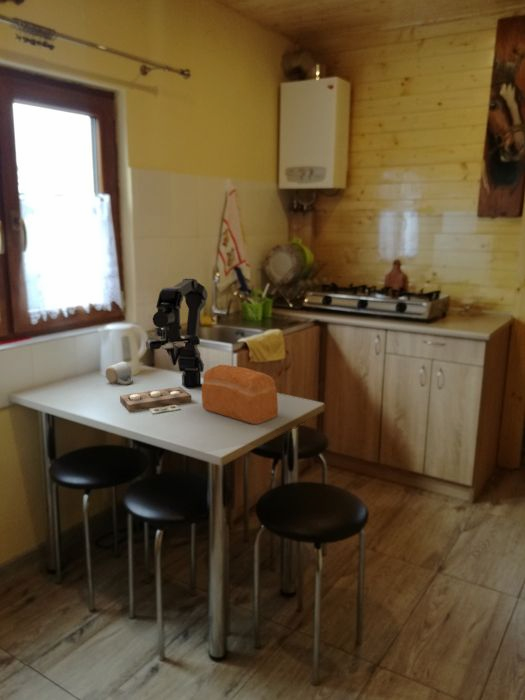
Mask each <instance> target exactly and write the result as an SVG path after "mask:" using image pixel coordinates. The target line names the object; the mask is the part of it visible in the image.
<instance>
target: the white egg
mask: <svg viewBox="0 0 525 700" xmlns="http://www.w3.org/2000/svg"><path fill="white" fill-rule="evenodd" d="M170 394H171V395H174V394H180V392H179V391H172V392H170Z"/></svg>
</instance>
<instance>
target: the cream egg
mask: <svg viewBox="0 0 525 700" xmlns="http://www.w3.org/2000/svg"><path fill="white" fill-rule="evenodd" d="M132 394H133V395H130V401H134V400H140V395H139V394H134V393H132Z"/></svg>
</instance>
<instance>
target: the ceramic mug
mask: <svg viewBox="0 0 525 700" xmlns="http://www.w3.org/2000/svg"><path fill="white" fill-rule="evenodd" d="M105 378H106V379H107V381H108V382H109V383H111V384H117V383H120V384H122V385H125V386H127V385H130V384H132V383H133V379H134V378H133V376H132V369H131V366H130V365H129V363H128V362H126V361H120V362H118V363H115V364H112V365H109V366H108V367H107V368H106V369H105ZM127 380H128V381H127Z"/></svg>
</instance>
